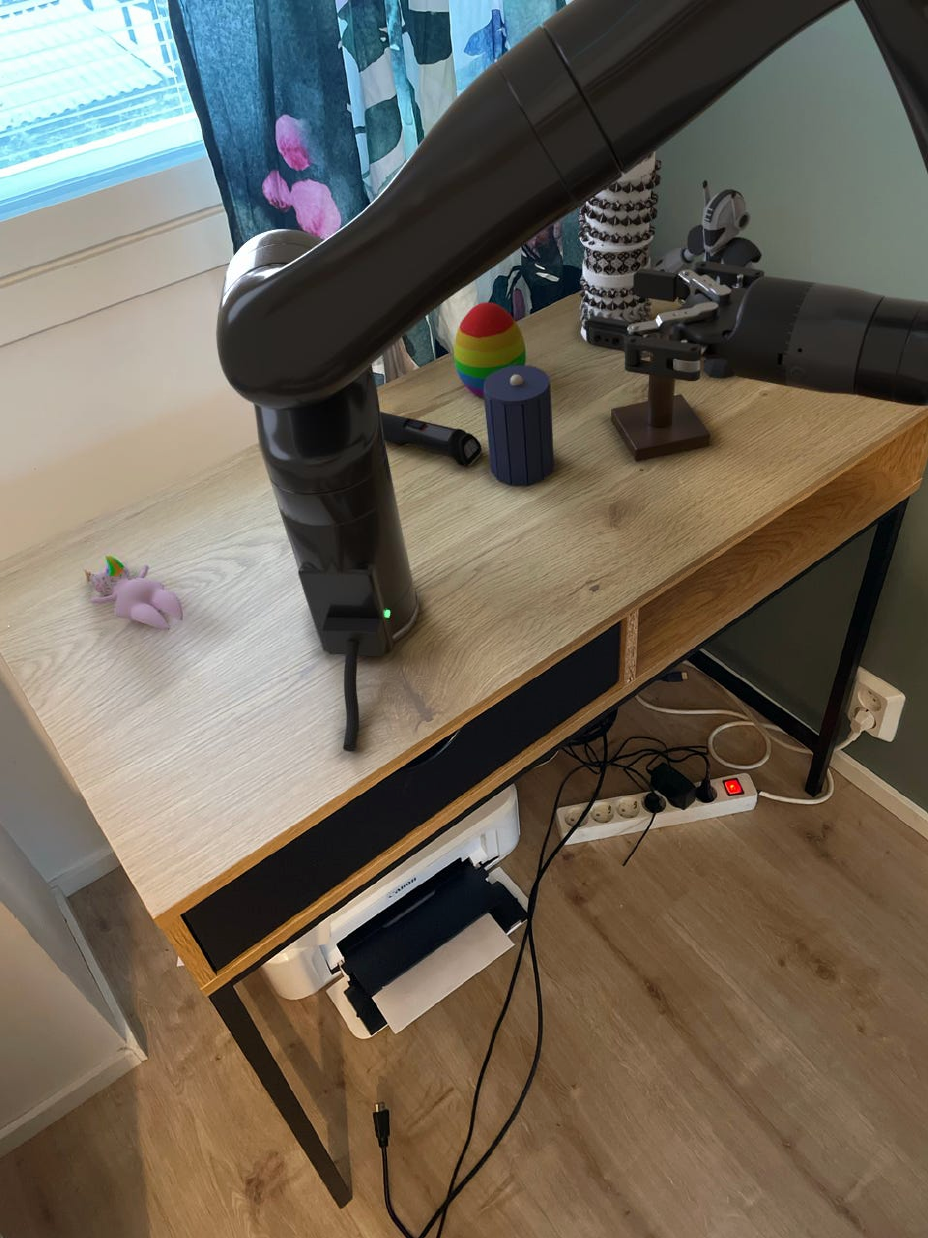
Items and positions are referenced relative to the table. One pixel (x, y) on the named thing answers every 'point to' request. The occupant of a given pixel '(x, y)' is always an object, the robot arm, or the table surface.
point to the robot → (715, 248)
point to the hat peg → (660, 421)
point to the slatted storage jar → (519, 424)
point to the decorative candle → (618, 245)
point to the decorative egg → (487, 345)
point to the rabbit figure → (135, 595)
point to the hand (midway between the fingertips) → (612, 305)
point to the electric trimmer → (431, 438)
